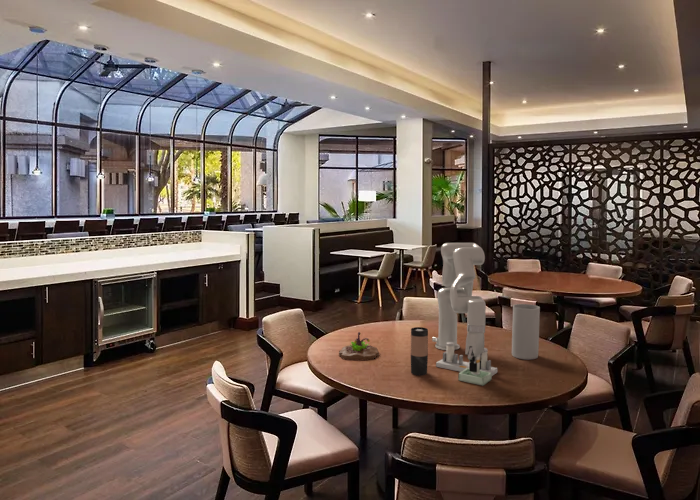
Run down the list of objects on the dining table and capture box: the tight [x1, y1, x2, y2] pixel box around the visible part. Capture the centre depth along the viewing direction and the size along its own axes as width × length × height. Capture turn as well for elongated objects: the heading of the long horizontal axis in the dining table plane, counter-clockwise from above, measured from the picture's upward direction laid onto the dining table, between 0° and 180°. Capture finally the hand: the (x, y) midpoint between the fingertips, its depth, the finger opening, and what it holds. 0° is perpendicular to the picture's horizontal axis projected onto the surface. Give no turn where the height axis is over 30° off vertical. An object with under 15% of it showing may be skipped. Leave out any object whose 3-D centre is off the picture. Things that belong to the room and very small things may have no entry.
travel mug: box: [410, 326, 429, 376], centre depth 236 cm, size 8×8×20 cm
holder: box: [435, 351, 498, 377], centre depth 242 cm, size 26×9×6 cm, turn 54°
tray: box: [457, 368, 493, 387], centre depth 228 cm, size 11×9×3 cm
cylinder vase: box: [511, 303, 541, 361], centre depth 261 cm, size 12×12×25 cm
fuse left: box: [445, 342, 455, 363], centre depth 246 cm, size 4×4×9 cm
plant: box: [338, 331, 380, 361], centre depth 266 cm, size 20×20×11 cm
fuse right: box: [481, 347, 489, 370], centre depth 237 cm, size 4×4×9 cm
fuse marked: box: [471, 354, 480, 375], centre depth 227 cm, size 4×4×9 cm
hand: (475, 369), depth 227 cm, fingers closed on fuse marked, 3 cm apart
